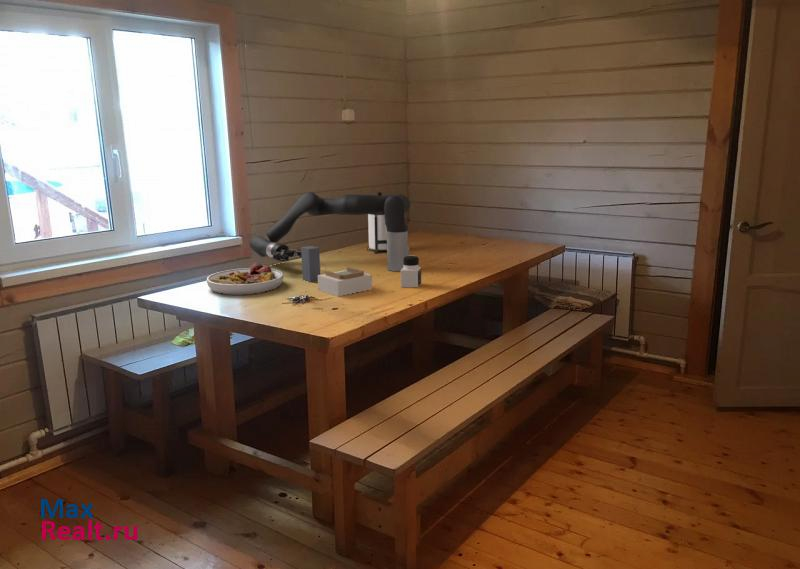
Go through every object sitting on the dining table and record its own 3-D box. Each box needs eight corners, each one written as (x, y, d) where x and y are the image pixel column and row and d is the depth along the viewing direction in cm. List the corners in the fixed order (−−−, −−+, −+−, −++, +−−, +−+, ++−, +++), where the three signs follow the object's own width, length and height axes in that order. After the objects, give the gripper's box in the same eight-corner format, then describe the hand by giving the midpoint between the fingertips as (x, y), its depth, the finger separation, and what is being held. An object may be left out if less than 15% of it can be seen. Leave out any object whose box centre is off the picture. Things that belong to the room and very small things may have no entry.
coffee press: (360, 253, 337) (358, 193, 330) (373, 247, 351) (372, 189, 344) (391, 255, 330) (390, 194, 323) (404, 249, 345) (403, 190, 338)
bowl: (268, 298, 254) (267, 278, 252) (194, 296, 259) (192, 276, 257) (293, 280, 283) (292, 262, 281) (226, 278, 288) (224, 260, 286)
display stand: (351, 283, 274) (350, 265, 273) (372, 289, 264) (371, 270, 262) (318, 290, 265) (317, 271, 263) (338, 296, 254) (337, 277, 252)
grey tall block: (312, 278, 285) (311, 245, 281) (320, 280, 280) (319, 247, 277) (302, 280, 282) (301, 247, 278) (310, 282, 277) (308, 249, 274)
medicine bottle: (418, 287, 266) (418, 258, 263) (400, 287, 267) (400, 257, 264) (421, 283, 273) (421, 254, 270) (404, 283, 274) (403, 254, 271)
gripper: (263, 245, 294) (281, 250, 282) (291, 241, 303) (310, 246, 291) (264, 261, 296) (282, 267, 284) (292, 257, 305) (311, 263, 293)
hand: (296, 257), depth 287 cm, fingers open, 8 cm apart
